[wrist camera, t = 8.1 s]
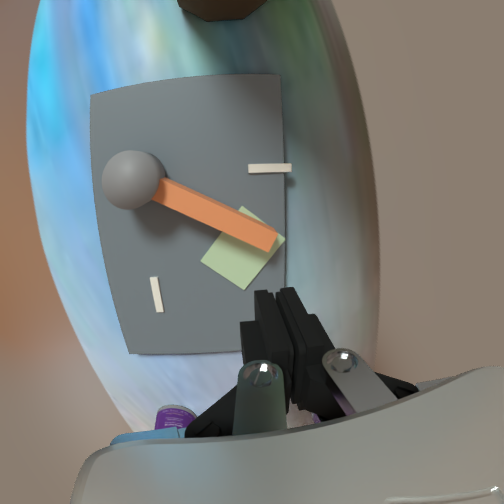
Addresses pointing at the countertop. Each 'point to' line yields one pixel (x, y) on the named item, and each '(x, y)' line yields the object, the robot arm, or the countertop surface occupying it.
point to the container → (173, 417)
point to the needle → (176, 197)
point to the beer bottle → (220, 8)
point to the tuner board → (182, 226)
